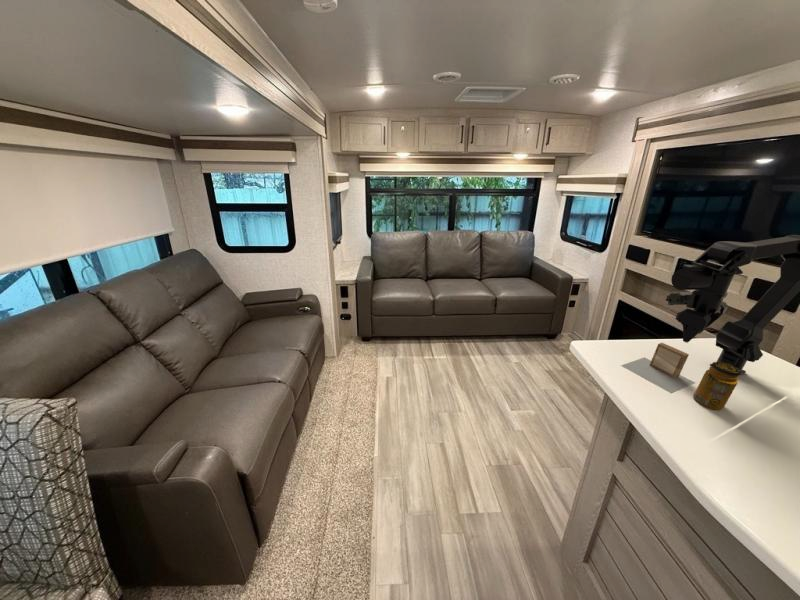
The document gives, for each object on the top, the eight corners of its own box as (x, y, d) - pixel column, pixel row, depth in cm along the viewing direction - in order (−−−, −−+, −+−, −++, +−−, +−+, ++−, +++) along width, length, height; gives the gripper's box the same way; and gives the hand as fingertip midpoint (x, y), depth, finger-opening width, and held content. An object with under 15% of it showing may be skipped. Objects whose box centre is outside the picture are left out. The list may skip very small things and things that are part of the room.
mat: (644, 358, 102) (644, 357, 102) (694, 383, 90) (695, 382, 90) (620, 366, 97) (620, 365, 97) (670, 394, 85) (671, 393, 85)
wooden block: (653, 364, 98) (662, 342, 95) (678, 376, 92) (689, 354, 89) (648, 365, 97) (657, 344, 94) (674, 378, 91) (684, 356, 88)
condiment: (728, 406, 81) (749, 369, 77) (718, 420, 77) (740, 381, 72) (693, 391, 87) (710, 355, 82) (682, 402, 83) (700, 365, 78)
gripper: (688, 274, 95) (671, 319, 102) (662, 286, 86) (645, 334, 93) (738, 285, 87) (716, 333, 93) (715, 299, 78) (692, 351, 84)
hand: (691, 337), depth 91 cm, fingers open, 9 cm apart
